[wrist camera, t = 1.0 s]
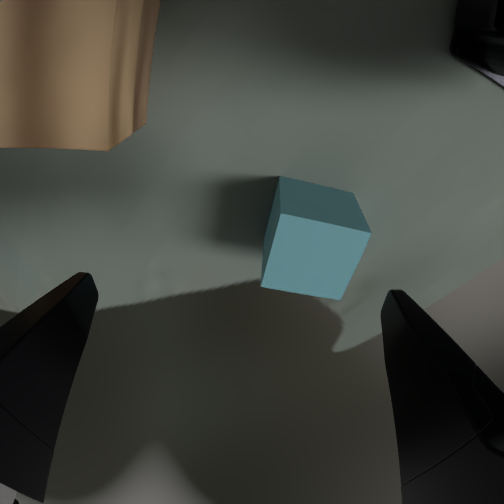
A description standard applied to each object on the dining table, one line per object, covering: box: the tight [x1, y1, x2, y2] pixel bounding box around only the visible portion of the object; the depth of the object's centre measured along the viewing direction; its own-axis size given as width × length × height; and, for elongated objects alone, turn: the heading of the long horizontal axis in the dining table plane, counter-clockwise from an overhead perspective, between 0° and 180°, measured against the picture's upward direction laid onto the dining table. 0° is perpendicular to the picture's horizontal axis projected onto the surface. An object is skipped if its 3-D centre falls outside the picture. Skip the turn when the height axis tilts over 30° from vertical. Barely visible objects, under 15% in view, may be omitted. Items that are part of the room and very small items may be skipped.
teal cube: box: [261, 176, 372, 300], centre depth 20 cm, size 5×5×5 cm
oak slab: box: [0, 0, 144, 151], centre depth 12 cm, size 9×9×3 cm
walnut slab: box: [133, 0, 161, 132], centre depth 14 cm, size 9×9×3 cm
